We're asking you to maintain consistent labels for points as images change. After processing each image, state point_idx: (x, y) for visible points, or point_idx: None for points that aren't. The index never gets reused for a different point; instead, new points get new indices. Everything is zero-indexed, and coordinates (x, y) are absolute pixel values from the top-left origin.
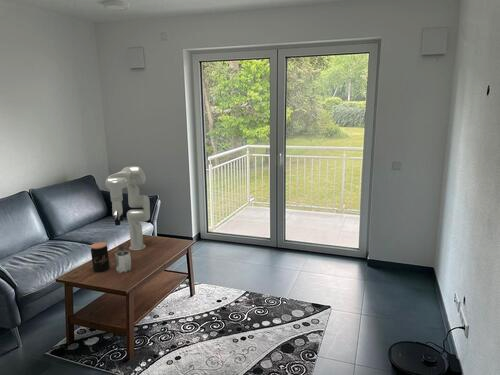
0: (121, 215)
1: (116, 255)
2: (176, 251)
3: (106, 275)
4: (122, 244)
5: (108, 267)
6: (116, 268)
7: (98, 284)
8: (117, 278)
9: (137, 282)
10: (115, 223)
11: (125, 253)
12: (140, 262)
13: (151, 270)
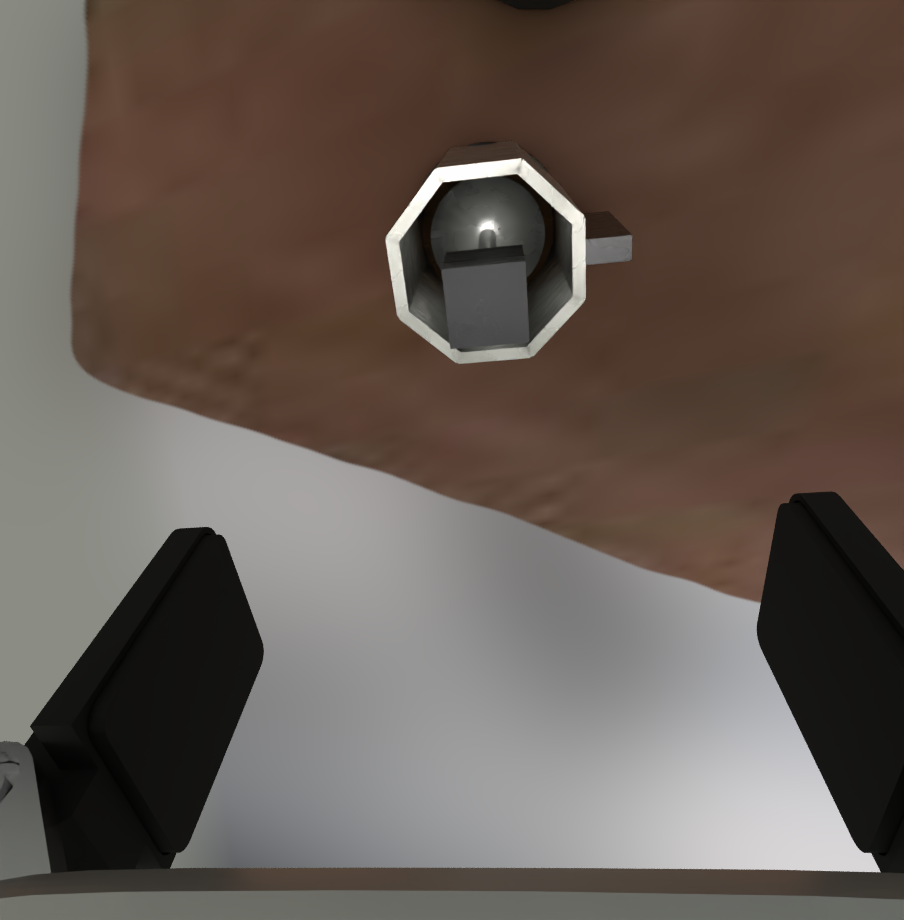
0: (876, 837)
1: (416, 199)
2: None
3: (347, 48)
4: (523, 310)
5: (517, 7)
6: (449, 150)
7: (123, 34)
8: (279, 214)
9: (218, 418)
10: (149, 584)
11: (569, 275)
12: (649, 351)
13: (444, 480)
